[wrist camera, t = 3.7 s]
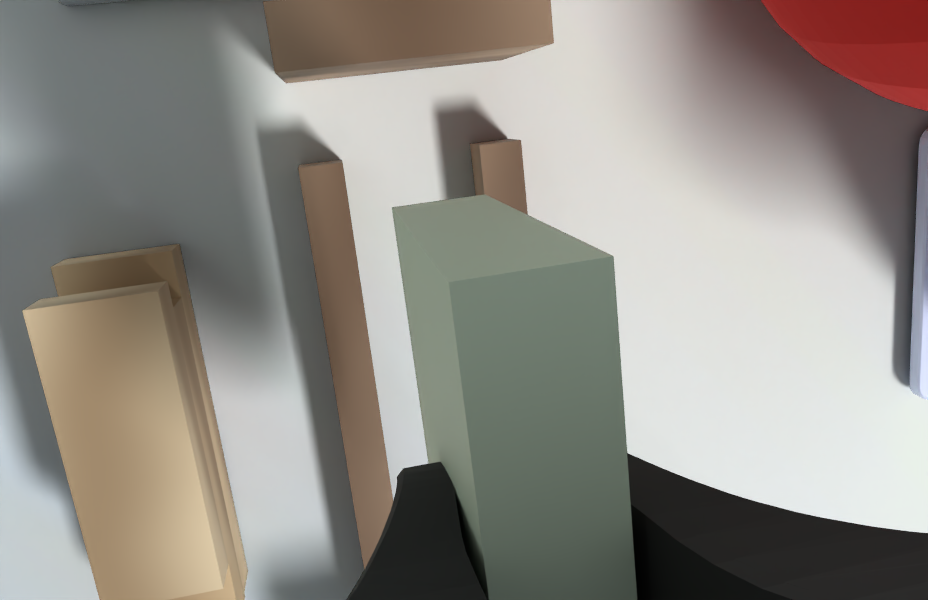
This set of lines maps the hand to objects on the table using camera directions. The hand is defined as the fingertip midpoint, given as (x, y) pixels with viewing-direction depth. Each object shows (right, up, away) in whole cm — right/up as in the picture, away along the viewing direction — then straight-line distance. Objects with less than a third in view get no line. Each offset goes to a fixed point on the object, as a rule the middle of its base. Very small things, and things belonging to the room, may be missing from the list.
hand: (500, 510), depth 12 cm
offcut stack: (-8, 0, +8) cm, 11 cm away
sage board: (0, +1, +2) cm, 2 cm away
